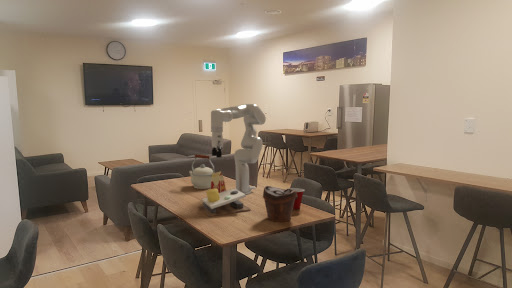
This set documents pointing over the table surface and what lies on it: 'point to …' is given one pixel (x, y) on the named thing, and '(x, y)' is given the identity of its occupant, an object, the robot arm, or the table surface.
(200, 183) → the kettle
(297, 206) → the plastic cup
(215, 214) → the leveling stand
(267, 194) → the brown flower pot
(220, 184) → the milk carton
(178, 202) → the table surface
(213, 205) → the instrument plate
